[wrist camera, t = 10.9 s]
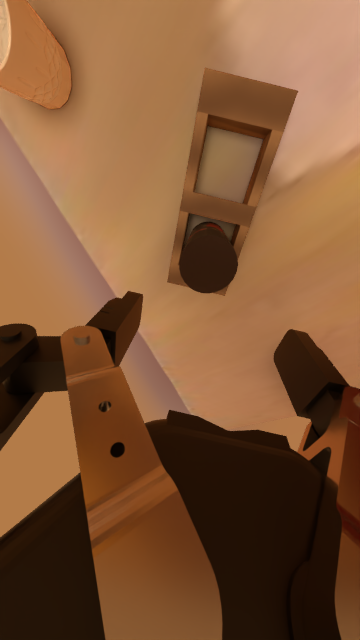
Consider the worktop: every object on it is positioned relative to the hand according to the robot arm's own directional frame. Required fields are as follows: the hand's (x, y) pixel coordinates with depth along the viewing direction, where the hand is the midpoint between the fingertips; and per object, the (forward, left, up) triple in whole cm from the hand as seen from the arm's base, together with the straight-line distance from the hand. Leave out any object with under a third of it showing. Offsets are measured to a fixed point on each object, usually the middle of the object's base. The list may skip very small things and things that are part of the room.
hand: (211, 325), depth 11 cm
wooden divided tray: (-5, 0, -26) cm, 26 cm away
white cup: (-15, -25, -26) cm, 39 cm away
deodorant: (0, 0, -26) cm, 26 cm away
